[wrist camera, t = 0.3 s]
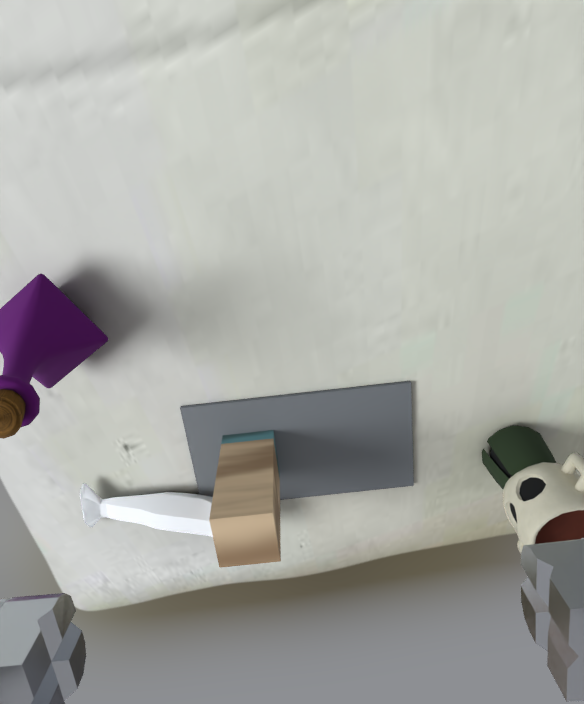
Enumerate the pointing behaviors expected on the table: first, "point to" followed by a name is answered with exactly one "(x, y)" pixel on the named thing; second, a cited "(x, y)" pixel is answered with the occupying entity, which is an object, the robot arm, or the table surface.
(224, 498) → the oak block
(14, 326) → the perfume bottle
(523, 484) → the character mug
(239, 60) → the table surface
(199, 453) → the rubber mat
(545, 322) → the table surface
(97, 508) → the white fish figurine
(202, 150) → the table surface
